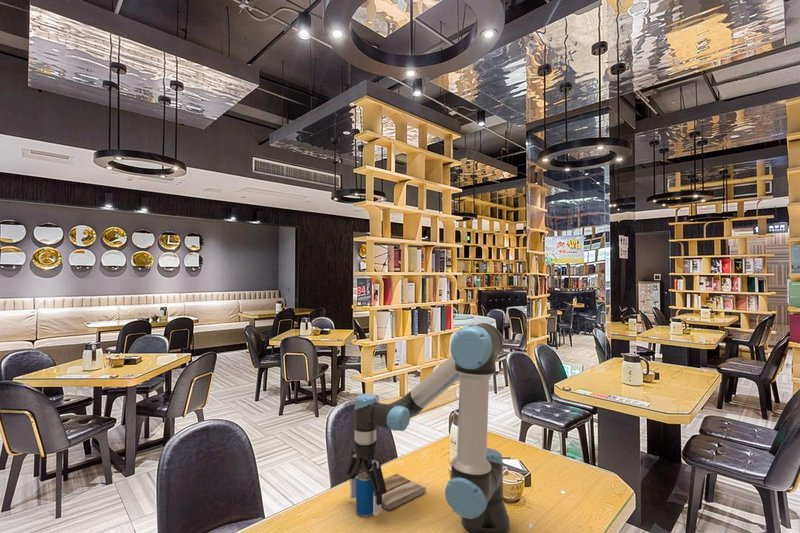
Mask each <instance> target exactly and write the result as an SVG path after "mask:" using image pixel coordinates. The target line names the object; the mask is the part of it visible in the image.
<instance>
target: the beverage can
mask: <svg viewBox="0 0 800 533" xmlns="http://www.w3.org/2000/svg"><path fill="white" fill-rule="evenodd" d="M357 475H358V476H356V477H357V479H356V498H355V512H356V514H358V515H359V516H360V517H363V518H364V517H370V516H372V515H373V494H375V492H374V489H373V486H372V483H371V481H370V478H369V475H368V474H367V473H366V471H364V472H359V473H358V474H357Z"/></svg>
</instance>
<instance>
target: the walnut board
mask: <svg viewBox="0 0 800 533" xmlns="http://www.w3.org/2000/svg"><path fill="white" fill-rule="evenodd" d="M410 481H411V479H408V478H406V477H404V476H403V475H401V474H399V473H395V474H391V475H390V476H387V477H386V478H385V477H384V482H385V486H386V490H387V492H388V491H390V490H393V489H395V488H397V487H399V486H401V485H404V484H406V483H408V482H410Z"/></svg>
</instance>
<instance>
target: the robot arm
mask: <svg viewBox="0 0 800 533" xmlns="http://www.w3.org/2000/svg"><path fill="white" fill-rule="evenodd" d="M503 344H504V340H503V336H502V334H501V332H500V330H498V328H497V327H495V326H494V325H492V324H489V323H485V322H481V323H477V324H474V325H466V326H465V327H462V328H461V329H460V330H458V331H457V332H456V333H455V334H454V335H453V337H452V339H451V341H450V348H449V349H450V355H451V356H449V357H448V358H447V359H446V360H445V361H443V363H442V364H440V365H439V366H438V367H437V368H436V369H434V370H433V371H432V372H431V373H430V374H428V375H427V376H426V377H425V378H424V379H422V381H420V382H419V383H417V385H416V386H414V388H412V389H411V390H410V391H409V392H407V393H406V394H405V395H404V396H402V397H401V398H399V399H398V400H395V401H393V402H391V403H389V404H388V403H381V402H378V400H377V398H378V397H377V395H375V394H374V393H360V394H358V395H357V396H355V401H354V436H353V437H354V439H353V440H354V441H355V442H354V449H353V450H351V452H350V458H349V462H348V465H347V467H346V471H345V473H346V475H347V476H348V478H349V486H350V489H349V490H350V491H349V492H350V494H349V495H350V496H349V497H350V498H349V499H350V500H353V499H356V479H357V476H358V474H360V471H361V469H362V470H364V472H366V473H367V474H368V475H369V478H370V481H371V483H372V486H373V489H374V492H375V494H373V513H372V515H373V516H374V517H375V516H377V515H379V514H382V506H381V504H382V495H383V494H385V493H387V490H386V486H385V482H384V479H385V477H384V475H383V471H382V465H381V464H382V462H381V460H375V455H376V453H377V449H378V448H377V445H378V444H377V443H378V442H377V427H378V428H383V429H388V430H391V431H394V432H395V431H398V432H403V431H406V430H407V428H408V427H409V425H410V421H411V419H412V418H413V417H415V416H418V415H419V414H420V413H421V412H422V411H423V410H424V409H425V408H426V407H427V406H428V405H429V404H431V403H432V402H433V401H435V399H437V398H438V397H439V396H441V395H443V393H444V392H446V391H447V390H448V389H449V388H451V386H453V385H454V384H455V383H457V381H459V387H458V388H459V390H458V391H459V392H458V414H457V415H458V416H457V418H458V419H457V445H456V447H457V448H456V455H455V456H454V457H453V458H452V459H451V467H450V469H451V470H450V479H449V480H448V481H447V483H446V486H445V489H444V490H445V491H444V495H445V499H446V502H447V504H448V505H449V507H451V509H452V511H453V512H454V513H455V514H456V515H458V516H459V517H461V524H462V527H463V528H464V529H465V530H466V531H467V532H469V533H508V532H509V530H510V517H509V514H508V513H507V512H508V511H507V508H506V505H505V502H504V501H505V500H504V468H503V467H504V466H503V465H504V462H503V456H502V452H499V451H498V450H496V449H493V448H489V447H487V446H488V445H487V444H488V423H489V422H488V419H489V418H488V417H489V415H488V414H489V394H490V393H489V390H490V389H489V388H490V378H491V377H492V376H494V375H495V372H496V371H495V366H496V357H497V356H498V355H499V354H500V353H501V351H502V348H503Z"/></svg>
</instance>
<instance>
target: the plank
mask: <svg viewBox="0 0 800 533" xmlns="http://www.w3.org/2000/svg"><path fill="white" fill-rule="evenodd" d="M425 493H427V487H425V486H423V485H421V484H418V483H416V482H414V481H411V480H410V482H408V483H406V484H404V485H401V486H399V487H397V488H395V489H393V490H390V491H388V492H387V493H385V494H383V495H382V504H381V508H384V509H386V510H387V511H390V510H393V509H395V508H397V507H399V506H401V505H403V504H405V503H407V502H409V501H411V500H413V499H415V498H417V497H419V496H421V495H423V494H425Z"/></svg>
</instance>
